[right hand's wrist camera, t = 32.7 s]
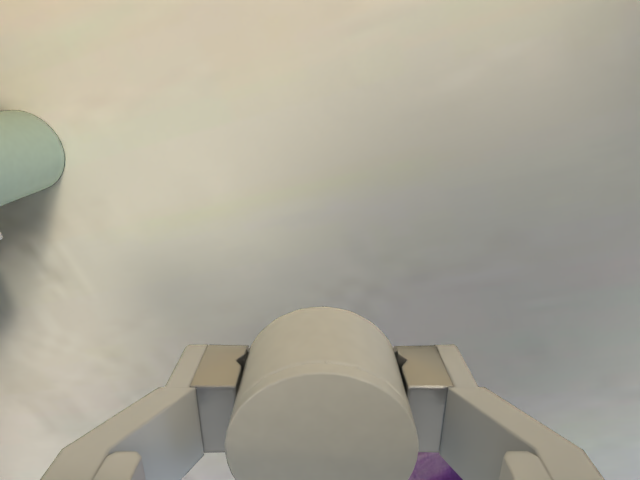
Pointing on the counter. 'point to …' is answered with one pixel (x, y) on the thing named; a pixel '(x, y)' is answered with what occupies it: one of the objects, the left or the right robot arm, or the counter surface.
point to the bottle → (27, 155)
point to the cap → (321, 403)
